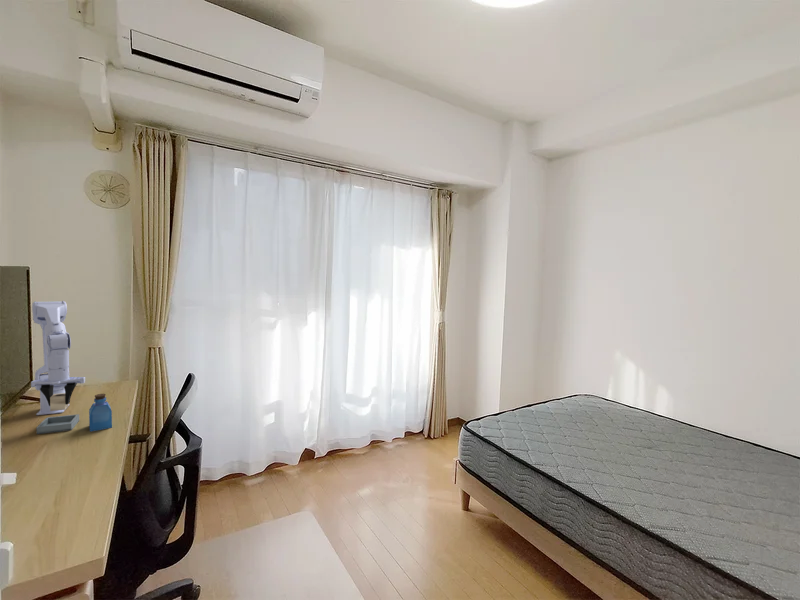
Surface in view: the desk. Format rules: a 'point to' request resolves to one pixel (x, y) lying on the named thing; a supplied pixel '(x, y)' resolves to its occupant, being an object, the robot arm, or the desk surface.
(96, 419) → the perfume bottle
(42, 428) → the tray
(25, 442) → the desk surface
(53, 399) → the bored block
